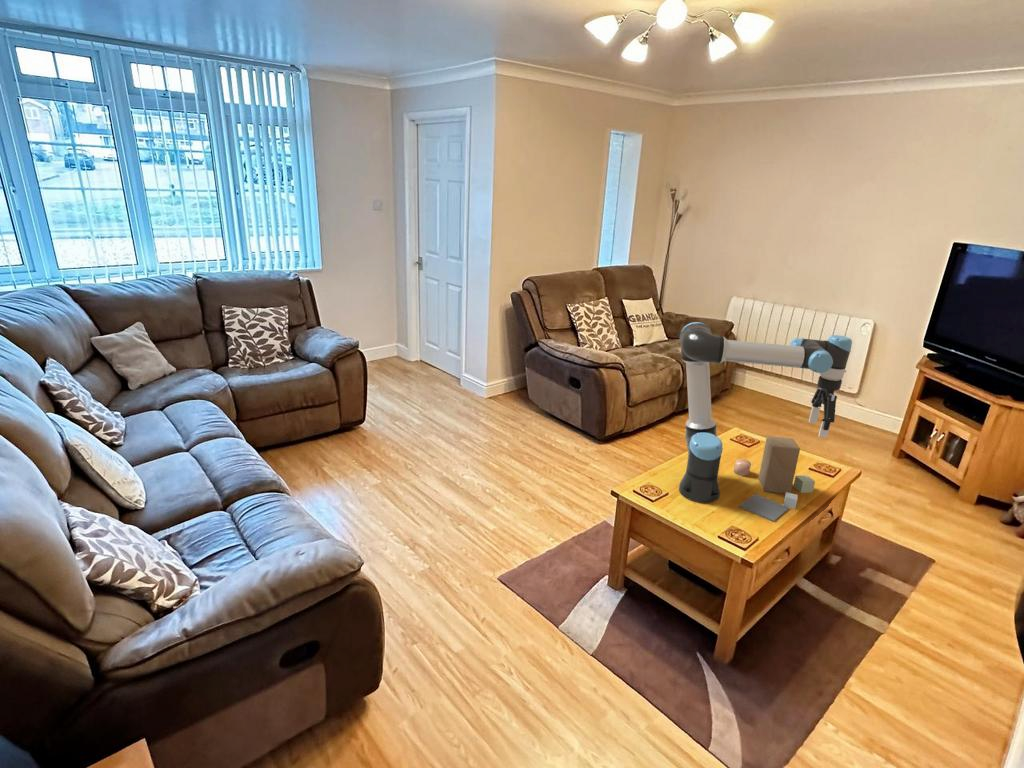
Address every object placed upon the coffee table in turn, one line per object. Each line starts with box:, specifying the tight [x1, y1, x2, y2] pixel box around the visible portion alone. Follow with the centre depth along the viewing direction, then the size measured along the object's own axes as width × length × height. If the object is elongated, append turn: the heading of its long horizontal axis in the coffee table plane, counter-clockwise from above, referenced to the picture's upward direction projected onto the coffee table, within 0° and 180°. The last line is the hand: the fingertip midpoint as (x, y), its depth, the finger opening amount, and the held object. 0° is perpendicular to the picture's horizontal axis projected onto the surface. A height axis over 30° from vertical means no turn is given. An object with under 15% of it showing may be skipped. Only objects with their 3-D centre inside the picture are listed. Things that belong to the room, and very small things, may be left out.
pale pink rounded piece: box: [733, 458, 752, 477], centre depth 228 cm, size 6×6×5 cm
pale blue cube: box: [783, 492, 798, 510], centre depth 205 cm, size 4×4×4 cm
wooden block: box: [758, 435, 801, 494], centre depth 215 cm, size 10×10×20 cm
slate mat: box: [738, 493, 790, 523], centre depth 203 cm, size 13×13×1 cm
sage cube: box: [792, 474, 816, 494], centre depth 216 cm, size 5×5×5 cm
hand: (817, 429), depth 207 cm, fingers open, 13 cm apart
